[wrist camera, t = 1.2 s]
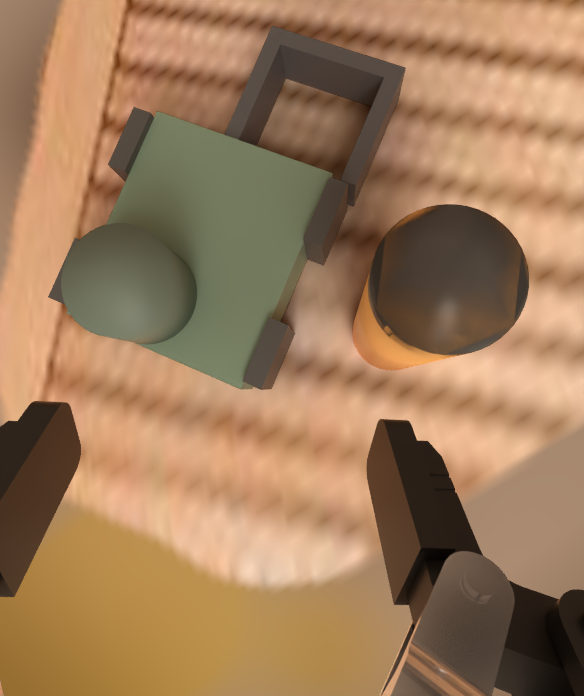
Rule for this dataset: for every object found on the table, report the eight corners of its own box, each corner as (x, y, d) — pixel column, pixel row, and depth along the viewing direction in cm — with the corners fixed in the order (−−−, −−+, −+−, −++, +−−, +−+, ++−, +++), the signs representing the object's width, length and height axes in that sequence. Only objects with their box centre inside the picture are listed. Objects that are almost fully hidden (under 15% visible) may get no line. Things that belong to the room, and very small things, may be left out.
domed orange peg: (369, 283, 28) (404, 183, 14) (442, 311, 27) (552, 235, 14) (340, 352, 28) (347, 320, 14) (413, 382, 27) (495, 379, 13)
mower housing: (206, 38, 31) (166, -73, 23) (398, 100, 29) (420, 2, 22) (83, 315, 30) (0, 292, 22) (272, 397, 28) (250, 402, 21)
